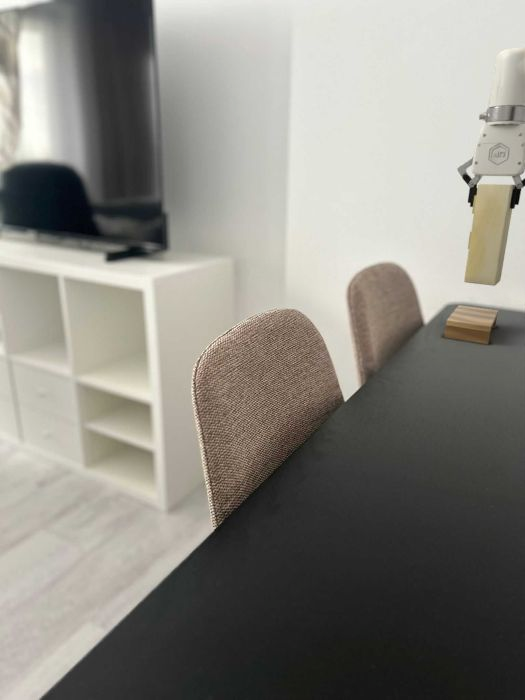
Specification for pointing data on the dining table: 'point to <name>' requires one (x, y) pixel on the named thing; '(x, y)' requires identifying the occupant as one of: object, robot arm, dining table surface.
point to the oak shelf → (471, 324)
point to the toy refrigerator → (489, 233)
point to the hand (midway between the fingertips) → (492, 206)
